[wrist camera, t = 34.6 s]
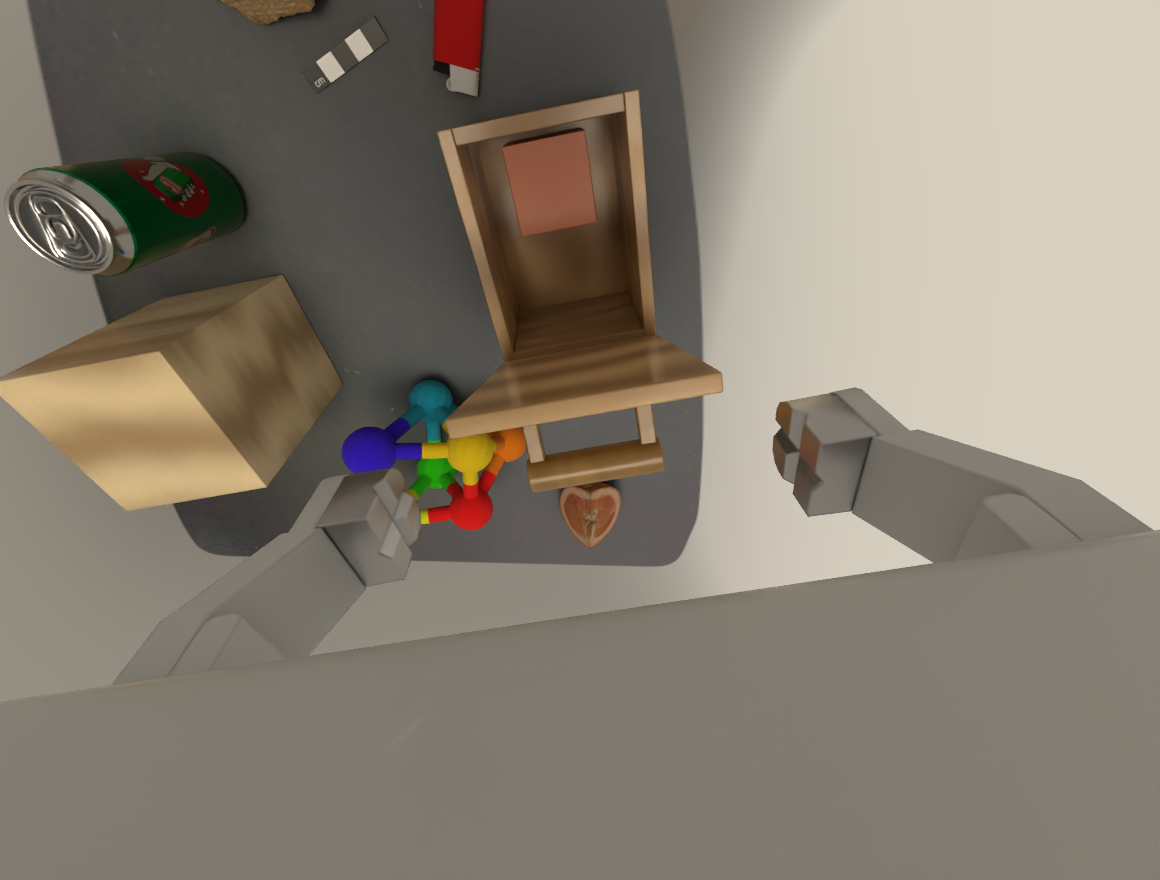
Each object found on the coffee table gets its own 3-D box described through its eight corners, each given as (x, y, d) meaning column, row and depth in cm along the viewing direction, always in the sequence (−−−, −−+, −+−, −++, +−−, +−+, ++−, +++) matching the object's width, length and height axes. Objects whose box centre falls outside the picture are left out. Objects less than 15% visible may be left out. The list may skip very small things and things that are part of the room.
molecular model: (548, 420, 45) (513, 573, 41) (451, 416, 50) (410, 552, 45) (464, 339, 32) (399, 550, 28) (344, 343, 37) (271, 524, 32)
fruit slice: (558, 463, 48) (560, 495, 44) (621, 461, 48) (627, 493, 44) (559, 518, 53) (560, 551, 49) (616, 516, 53) (621, 549, 49)
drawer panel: (444, 420, 17) (473, 525, 19) (722, 371, 17) (731, 484, 18) (503, 362, 31) (518, 425, 32) (657, 334, 30) (665, 400, 32)
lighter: (490, -86, 24) (476, 98, 28) (492, -78, 25) (479, 98, 29) (435, -105, 23) (430, 85, 28) (440, -96, 24) (434, 86, 29)
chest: (462, 126, 30) (435, 131, 23) (617, 94, 30) (639, 88, 23) (513, 318, 38) (505, 365, 31) (636, 295, 38) (656, 337, 31)
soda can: (188, 231, 33) (39, 281, 23) (151, 150, 30) (-37, 168, 20) (259, 233, 33) (142, 283, 24) (231, 152, 30) (83, 172, 21)
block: (507, 142, 30) (501, 147, 26) (580, 127, 30) (585, 129, 26) (524, 222, 33) (521, 237, 29) (591, 208, 33) (597, 222, 29)
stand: (163, 297, 36) (-15, 383, 24) (283, 274, 35) (157, 351, 24) (240, 403, 42) (126, 511, 30) (343, 384, 41) (266, 487, 30)
